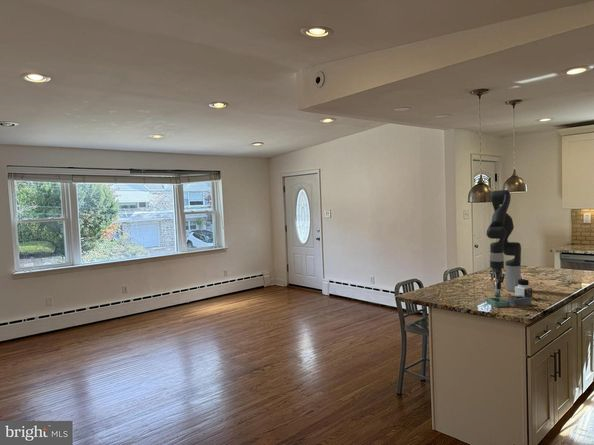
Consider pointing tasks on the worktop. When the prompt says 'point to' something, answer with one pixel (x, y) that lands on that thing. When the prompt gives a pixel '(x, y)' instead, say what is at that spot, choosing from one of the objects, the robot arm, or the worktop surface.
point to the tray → (498, 302)
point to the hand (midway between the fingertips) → (497, 288)
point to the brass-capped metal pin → (497, 291)
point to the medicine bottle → (523, 288)
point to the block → (519, 300)
